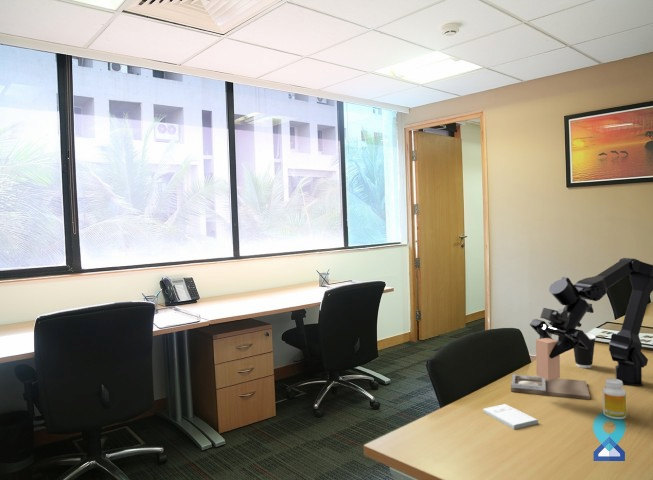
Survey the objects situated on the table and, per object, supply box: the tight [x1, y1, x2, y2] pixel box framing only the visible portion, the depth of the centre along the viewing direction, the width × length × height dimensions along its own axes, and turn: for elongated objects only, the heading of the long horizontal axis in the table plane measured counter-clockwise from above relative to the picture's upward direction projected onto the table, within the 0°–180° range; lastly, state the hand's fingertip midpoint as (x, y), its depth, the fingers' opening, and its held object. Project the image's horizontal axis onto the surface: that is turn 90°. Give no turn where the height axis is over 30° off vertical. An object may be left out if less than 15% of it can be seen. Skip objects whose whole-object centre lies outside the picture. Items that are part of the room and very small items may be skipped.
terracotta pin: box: [535, 338, 561, 380], centre depth 145 cm, size 4×4×11 cm
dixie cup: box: [573, 333, 597, 369], centre depth 174 cm, size 8×8×11 cm
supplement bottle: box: [602, 377, 627, 420], centre depth 132 cm, size 5×5×10 cm
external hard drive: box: [482, 403, 539, 430], centre depth 134 cm, size 2×8×12 cm
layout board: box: [510, 373, 591, 400], centre depth 155 cm, size 22×14×2 cm, turn 66°
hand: (544, 355), depth 144 cm, fingers closed on terracotta pin, 4 cm apart
